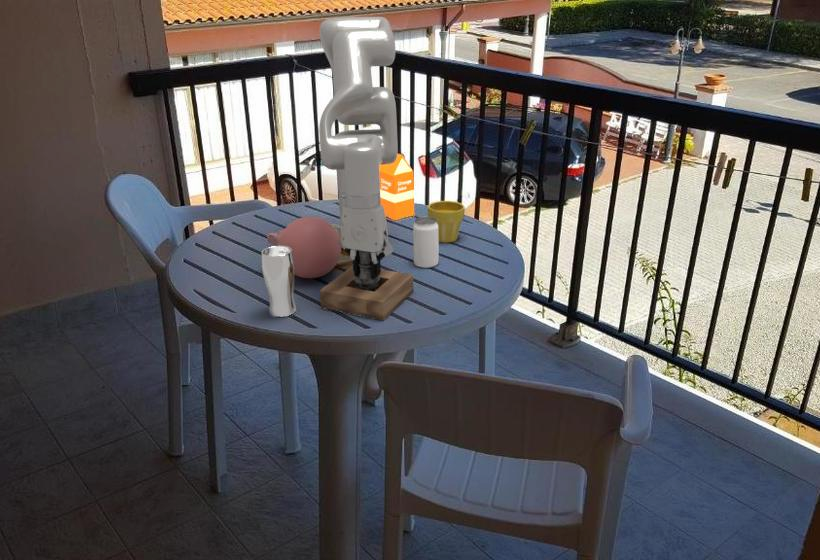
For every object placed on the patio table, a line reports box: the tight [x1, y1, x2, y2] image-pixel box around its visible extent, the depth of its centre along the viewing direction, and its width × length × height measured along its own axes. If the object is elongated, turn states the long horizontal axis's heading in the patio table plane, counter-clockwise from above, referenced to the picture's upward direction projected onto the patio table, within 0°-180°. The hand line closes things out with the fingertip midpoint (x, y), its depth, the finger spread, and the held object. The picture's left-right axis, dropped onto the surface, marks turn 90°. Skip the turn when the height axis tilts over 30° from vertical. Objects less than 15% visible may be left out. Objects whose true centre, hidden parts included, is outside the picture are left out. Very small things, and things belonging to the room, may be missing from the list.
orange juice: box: [379, 153, 415, 221], centre depth 211 cm, size 8×9×20 cm
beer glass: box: [261, 245, 297, 317], centre depth 153 cm, size 7×7×15 cm
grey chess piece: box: [354, 251, 380, 292], centre depth 158 cm, size 6×6×12 cm
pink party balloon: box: [266, 216, 342, 279], centre depth 172 cm, size 15×20×15 cm
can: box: [412, 216, 440, 269], centre depth 177 cm, size 6×6×12 cm
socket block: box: [319, 265, 414, 322], centre depth 160 cm, size 16×16×4 cm
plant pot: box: [427, 200, 466, 243], centre depth 194 cm, size 10×10×10 cm
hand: (367, 275), depth 158 cm, fingers closed on grey chess piece, 3 cm apart
